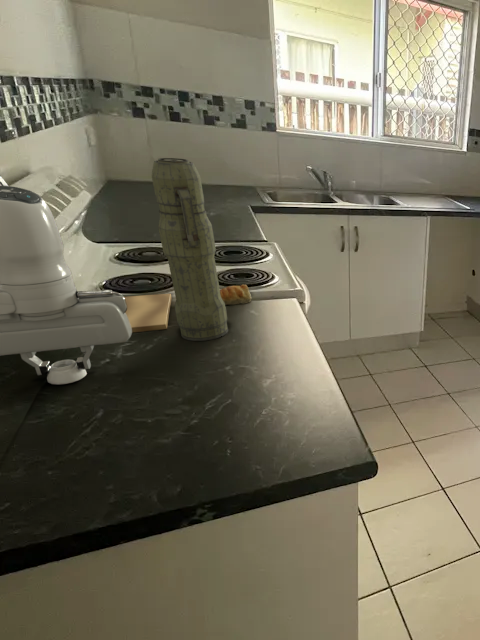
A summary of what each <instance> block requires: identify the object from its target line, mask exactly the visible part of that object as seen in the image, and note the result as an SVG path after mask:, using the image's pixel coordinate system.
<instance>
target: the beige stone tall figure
mask: <svg viewBox="0 0 480 640" xmlns="http://www.w3.org/2000/svg"><path fill="white" fill-rule="evenodd" d="M151 180H152V185H153V189H154V190H153V191H154V195H155V200H156V204H158V207H159V210H158V214H159V221H158V224H157V225H158V226H157V228H158V232H159V238H160V242H161V243H160V244H161V247H162V252H163V253H162V254H163V255H164V256H165V257H166V258H167V262H168V267H169V273H170V278H171V282H172V287H173V292H174V297H175V302H174V313H175V317H176V322H177V326H178V327H179V329H180V336H181V337H182V339H184V340H186V341H192V342H205V341H211V340H215V339H218V338H221V336H222V337H224V336H225V335H227V334H228V333H229V326H228V313H227V308H226V305H225V303H224V301H223V300H222V298H221V295H220V290H221V289H220V284H219V277H218V271H217V266H216V265H217V264H216V258H215V255H216V252H217V249H216V242H215V237H214V236H215V235H214V231H213V230H214V229H213V224H212V222H211V221H210V220H209V217H208V216H207V210H206V209H205V197H204V191H203V186H202V185H203V184H202V179H201V175H200V173H199V171H198V169H197V167H196V166H195V163H194V162H193V161H190V160H189V159H186V158H178V157H175V158H174V157H160V158H158V159H157V160H153V165H152V171H151Z"/></svg>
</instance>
